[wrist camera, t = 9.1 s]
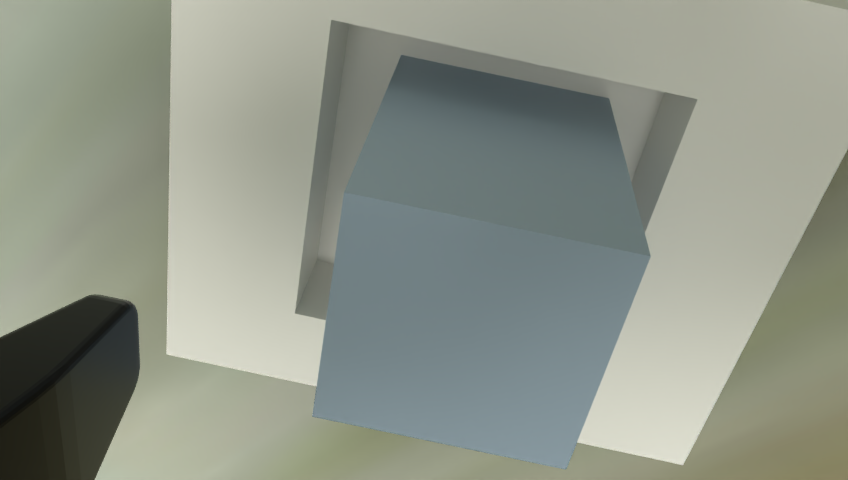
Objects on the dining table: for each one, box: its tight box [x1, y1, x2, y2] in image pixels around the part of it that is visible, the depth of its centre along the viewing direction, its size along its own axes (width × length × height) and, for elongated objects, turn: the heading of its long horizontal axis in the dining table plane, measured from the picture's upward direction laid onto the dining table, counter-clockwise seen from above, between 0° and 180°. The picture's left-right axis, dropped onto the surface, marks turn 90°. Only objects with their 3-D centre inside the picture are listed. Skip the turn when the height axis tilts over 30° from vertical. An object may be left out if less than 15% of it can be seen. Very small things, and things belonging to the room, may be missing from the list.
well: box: [167, 0, 848, 465], centre depth 19 cm, size 14×12×3 cm
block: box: [312, 55, 651, 469], centre depth 17 cm, size 5×5×7 cm
